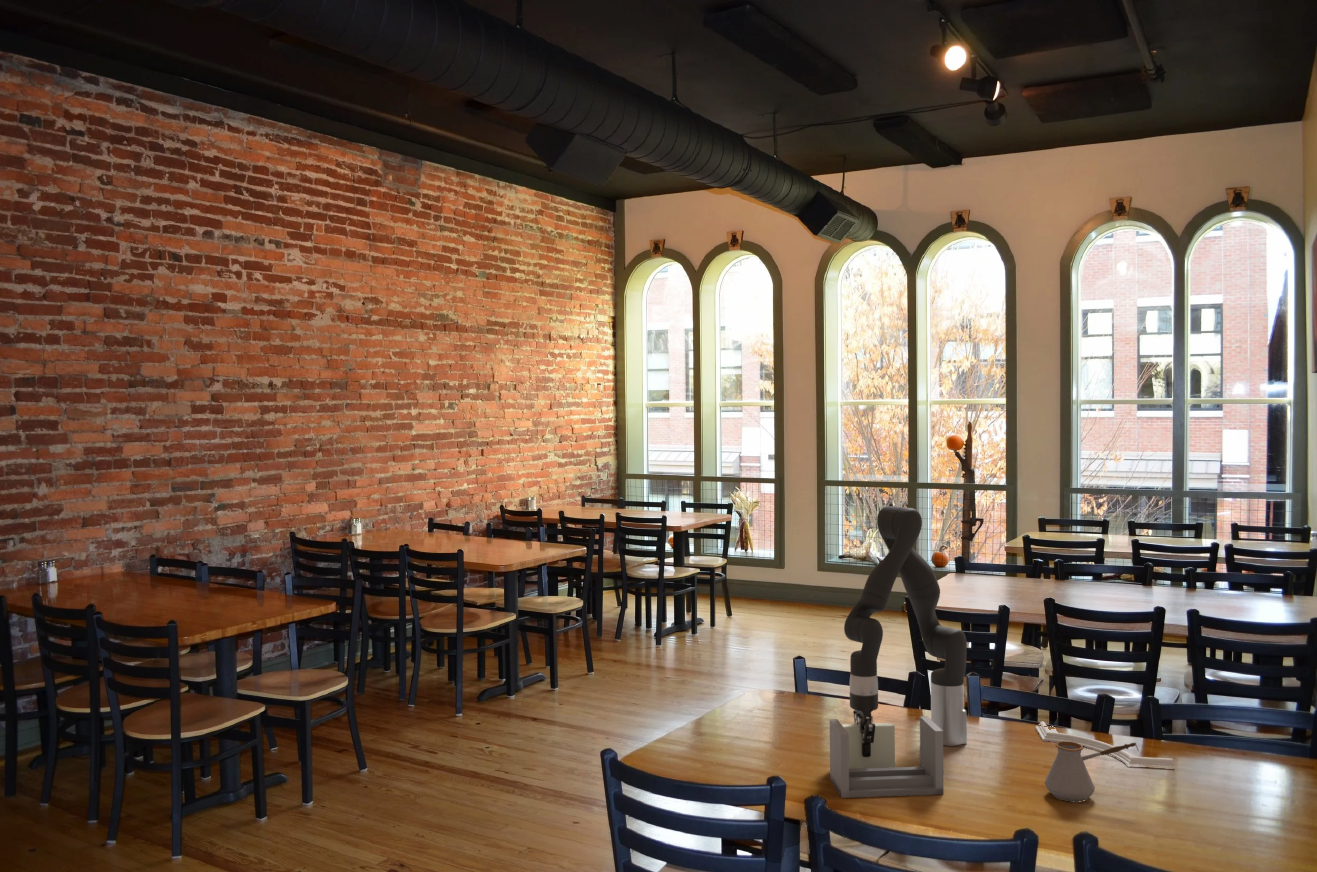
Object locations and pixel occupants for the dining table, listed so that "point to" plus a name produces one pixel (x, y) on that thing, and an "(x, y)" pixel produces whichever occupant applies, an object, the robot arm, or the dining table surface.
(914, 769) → the grey rack
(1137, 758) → the molding
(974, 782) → the dining table surface
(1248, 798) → the dining table surface
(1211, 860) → the dining table surface
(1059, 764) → the coffee pot
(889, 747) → the door panel
